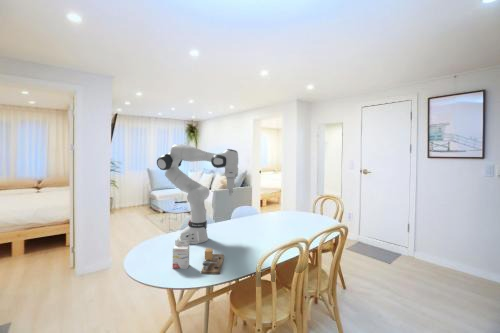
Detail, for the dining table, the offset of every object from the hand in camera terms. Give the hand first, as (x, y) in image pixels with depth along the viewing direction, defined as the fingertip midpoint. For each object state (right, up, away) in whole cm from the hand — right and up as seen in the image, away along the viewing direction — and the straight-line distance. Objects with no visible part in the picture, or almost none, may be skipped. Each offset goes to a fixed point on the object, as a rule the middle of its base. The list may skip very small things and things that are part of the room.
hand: (230, 194), depth 166 cm
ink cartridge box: (-27, -39, -25) cm, 53 cm away
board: (-9, -39, -21) cm, 45 cm away
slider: (-10, -37, -21) cm, 44 cm away
